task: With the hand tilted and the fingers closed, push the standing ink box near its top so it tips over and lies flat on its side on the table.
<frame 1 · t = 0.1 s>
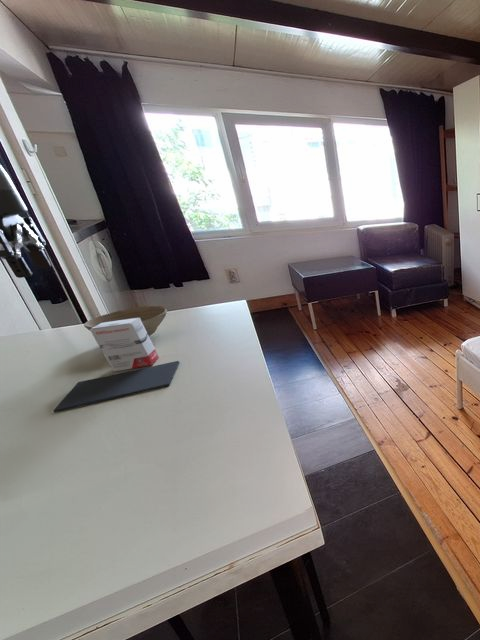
hand: (35, 272, 77), 26 cm above the table, tool pointing down, fingers open, 8 cm apart
ink box: (137, 365, 95), on the table
bowl: (139, 340, 109), on the table
mat: (123, 385, 85), on the table
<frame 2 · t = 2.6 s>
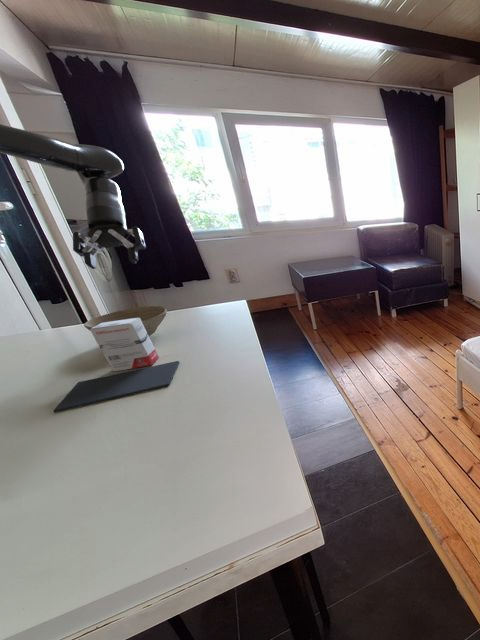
hand: (113, 264, 95), 23 cm above the table, tool tilted 45°, fingers open, 8 cm apart
nothing on the table moved.
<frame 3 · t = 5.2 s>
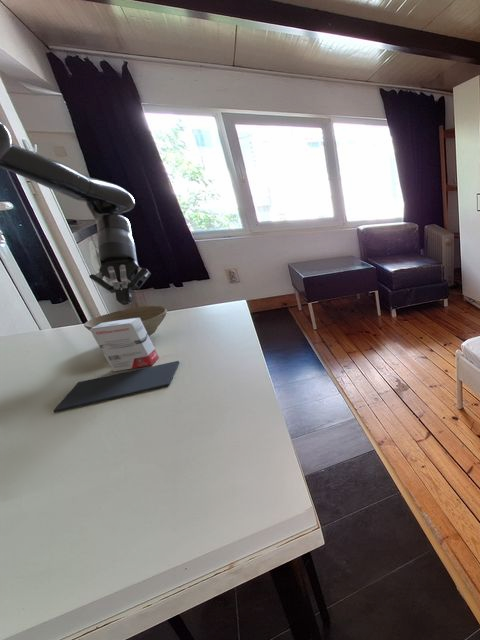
hand: (125, 303, 97), 14 cm above the table, tool tilted 45°, fingers closed
nothing on the table moved.
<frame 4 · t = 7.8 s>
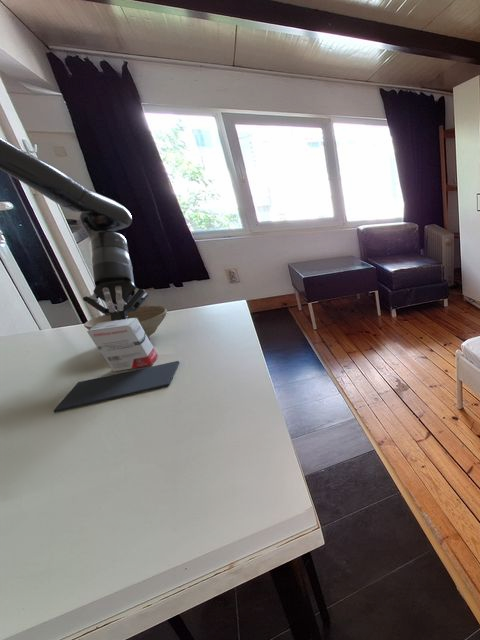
hand: (120, 326, 92), 10 cm above the table, tool tilted 45°, fingers closed
ink box: (137, 364, 95), on the table, touching gripper
everything else where it was.
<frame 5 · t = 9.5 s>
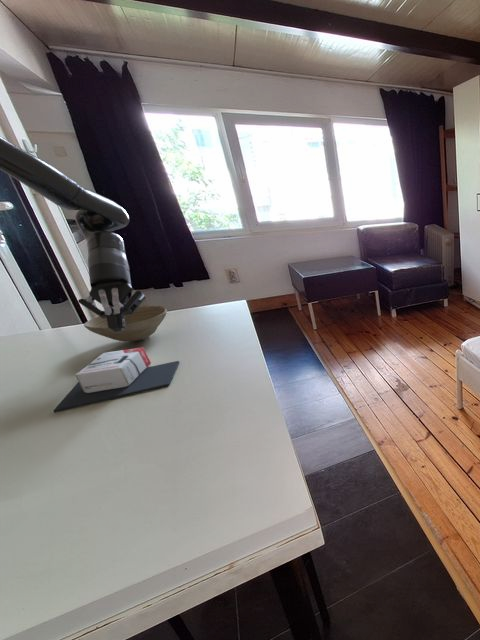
hand: (117, 329, 89), 10 cm above the table, tool tilted 45°, fingers closed
ink box: (127, 357, 91), point 3 cm above the table, touching mat
everything else where it was.
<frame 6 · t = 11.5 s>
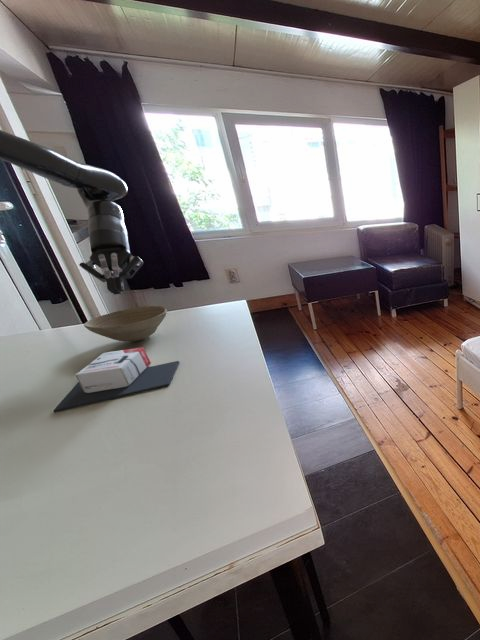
hand: (116, 292, 94), 17 cm above the table, tool tilted 45°, fingers closed
nothing on the table moved.
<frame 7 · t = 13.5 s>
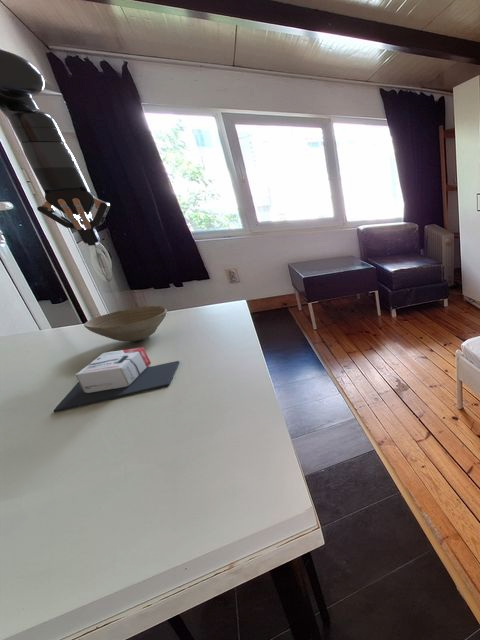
hand: (94, 244, 89), 29 cm above the table, tool pointing down, fingers closed
nothing on the table moved.
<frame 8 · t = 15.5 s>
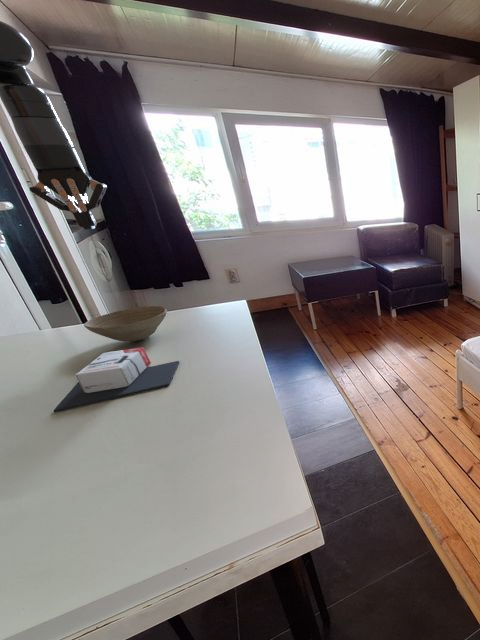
hand: (90, 228, 85), 33 cm above the table, tool pointing down, fingers closed
nothing on the table moved.
at the end: ink box tilted 90°; ink box inside the target area (3.8 cm from its centre), point 3.1 cm above the table; the gripper is holding nothing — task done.
